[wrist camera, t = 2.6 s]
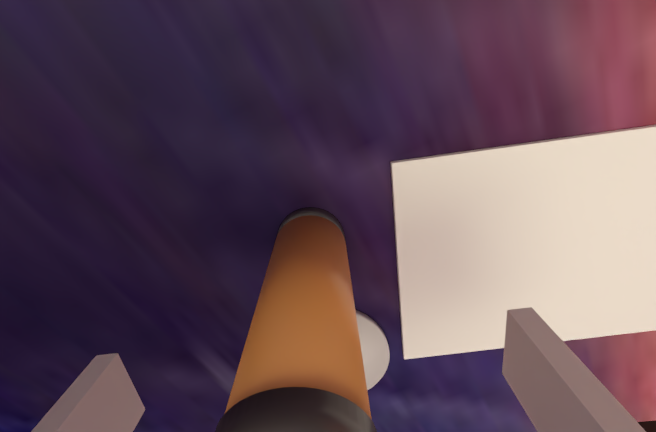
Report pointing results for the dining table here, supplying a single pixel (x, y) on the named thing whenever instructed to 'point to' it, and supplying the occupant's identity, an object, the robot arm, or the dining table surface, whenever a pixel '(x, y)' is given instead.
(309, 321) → the thermos bottle
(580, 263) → the paper
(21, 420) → the dining table surface
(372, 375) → the coaster
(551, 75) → the dining table surface
